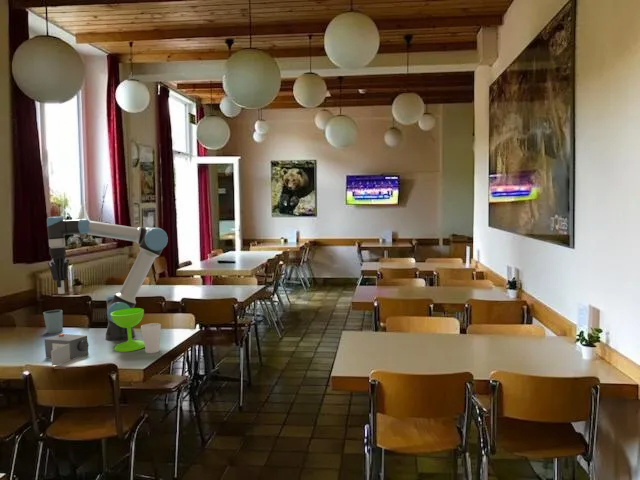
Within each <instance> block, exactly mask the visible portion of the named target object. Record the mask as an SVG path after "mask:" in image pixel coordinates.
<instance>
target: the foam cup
mask: <svg viewBox="0 0 640 480" xmlns="http://www.w3.org/2000/svg"><path fill="white" fill-rule="evenodd" d="M161 330H162V324H161V323H160V322H159V323H158V322H152V323H144V324H141V325H140V332H141V335H142V336H141V337H142V339H143V340H142V341H144V346H145V347H144V350H145V353H146V354H156V353H158V352H159V351H160V344H161Z"/></svg>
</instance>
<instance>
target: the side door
mask: <svg viewBox="0 0 640 480" xmlns="http://www.w3.org/2000/svg"><path fill="white" fill-rule="evenodd" d="M50 359H51V366H52V365H58V366H60V365H62V364H64V363H66V362H68V361H71V360H70V359H71V351H70V343H68V344H66V345H64V346H61V347H59V348H57V349H55V350H52V351H51V358H50Z"/></svg>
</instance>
